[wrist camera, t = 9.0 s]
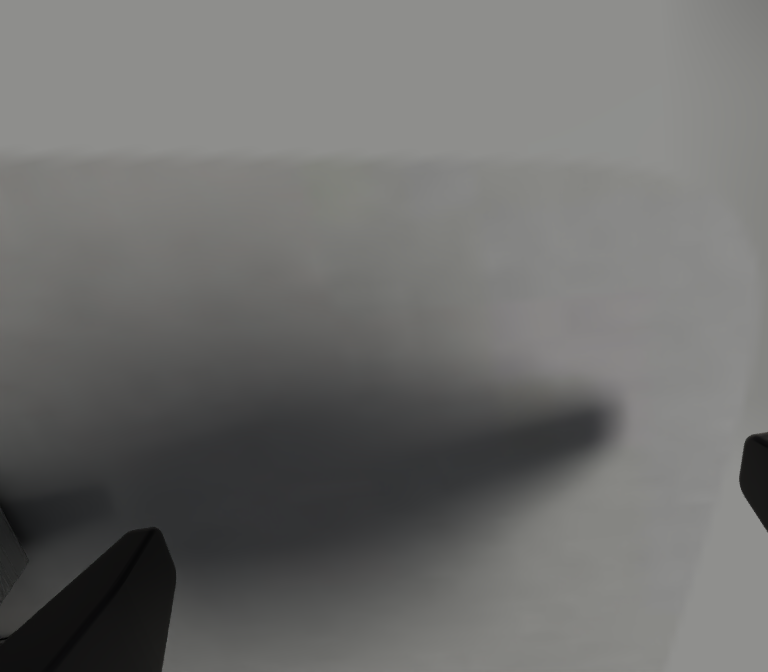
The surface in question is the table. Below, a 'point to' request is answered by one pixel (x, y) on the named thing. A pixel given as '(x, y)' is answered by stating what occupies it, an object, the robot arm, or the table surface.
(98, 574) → the robot arm
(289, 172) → the table surface
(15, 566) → the arm
